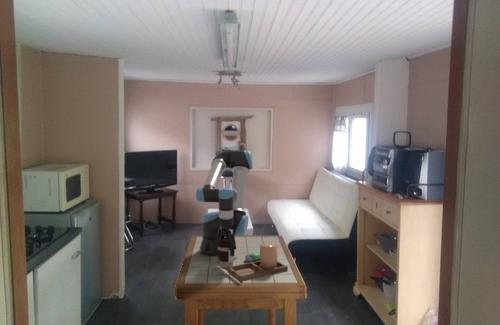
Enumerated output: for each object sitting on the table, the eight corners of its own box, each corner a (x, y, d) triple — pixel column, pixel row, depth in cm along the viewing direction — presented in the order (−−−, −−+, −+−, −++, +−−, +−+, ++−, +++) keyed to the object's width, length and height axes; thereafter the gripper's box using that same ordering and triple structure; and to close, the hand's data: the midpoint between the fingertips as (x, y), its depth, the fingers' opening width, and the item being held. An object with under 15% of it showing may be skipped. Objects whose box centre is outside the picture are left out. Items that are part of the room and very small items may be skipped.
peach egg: (256, 266, 200) (256, 244, 199) (271, 263, 204) (271, 241, 203) (265, 272, 192) (265, 249, 191) (280, 269, 197) (281, 246, 195)
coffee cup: (218, 271, 197) (218, 242, 196) (215, 264, 207) (215, 237, 205) (237, 269, 200) (237, 241, 198) (233, 262, 209) (233, 236, 208)
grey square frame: (245, 262, 210) (245, 255, 209) (257, 260, 214) (257, 253, 213) (252, 267, 203) (252, 259, 202) (265, 264, 207) (265, 257, 206)
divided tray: (227, 273, 195) (227, 266, 194) (272, 263, 208) (272, 258, 208) (240, 282, 183) (240, 276, 182) (287, 272, 196) (287, 266, 195)
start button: (249, 259, 209) (249, 253, 209) (256, 257, 211) (256, 252, 211) (253, 261, 205) (253, 256, 205) (261, 260, 207) (261, 254, 207)
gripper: (210, 213, 209) (210, 252, 211) (229, 223, 188) (229, 266, 190) (222, 212, 213) (222, 250, 215) (243, 221, 192) (243, 264, 194)
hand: (226, 258), depth 203 cm, fingers open, 11 cm apart
